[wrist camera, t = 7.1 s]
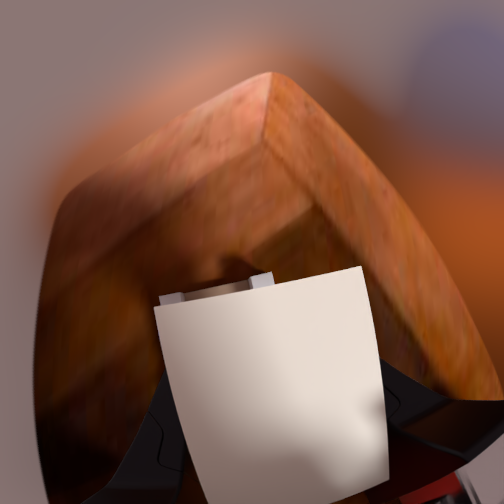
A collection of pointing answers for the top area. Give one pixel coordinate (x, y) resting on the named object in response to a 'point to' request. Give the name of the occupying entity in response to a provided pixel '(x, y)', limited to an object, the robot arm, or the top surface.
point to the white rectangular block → (279, 390)
